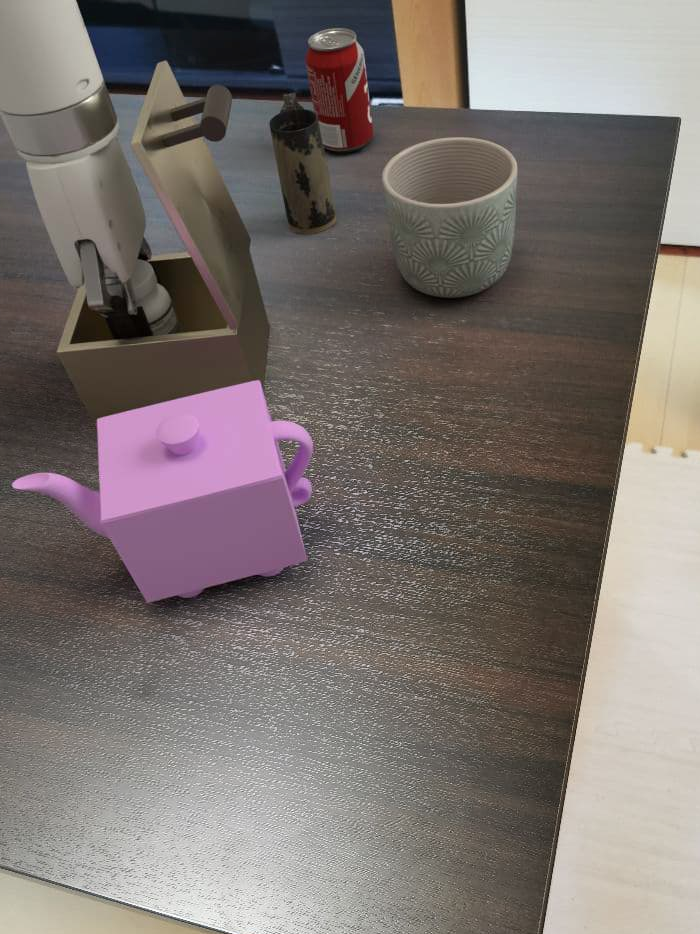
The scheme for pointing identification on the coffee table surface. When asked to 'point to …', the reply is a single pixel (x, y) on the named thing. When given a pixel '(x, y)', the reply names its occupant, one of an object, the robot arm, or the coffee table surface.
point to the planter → (451, 214)
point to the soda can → (339, 89)
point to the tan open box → (166, 346)
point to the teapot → (193, 491)
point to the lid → (195, 184)
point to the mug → (302, 168)
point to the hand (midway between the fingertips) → (143, 323)
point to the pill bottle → (150, 299)
